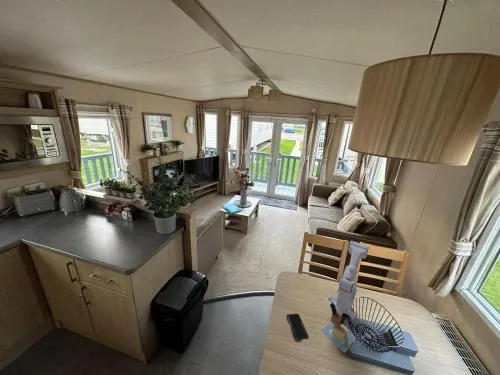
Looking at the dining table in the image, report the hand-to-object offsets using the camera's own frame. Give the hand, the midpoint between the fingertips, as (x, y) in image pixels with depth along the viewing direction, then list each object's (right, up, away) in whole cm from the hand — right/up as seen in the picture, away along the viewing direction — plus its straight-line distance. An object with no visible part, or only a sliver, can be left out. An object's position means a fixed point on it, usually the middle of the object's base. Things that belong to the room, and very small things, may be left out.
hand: (337, 318), depth 115 cm
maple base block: (+1, -8, 0) cm, 8 cm away
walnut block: (0, -2, +1) cm, 2 cm away
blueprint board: (+1, -9, 0) cm, 9 cm away
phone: (-21, -7, +3) cm, 23 cm away
